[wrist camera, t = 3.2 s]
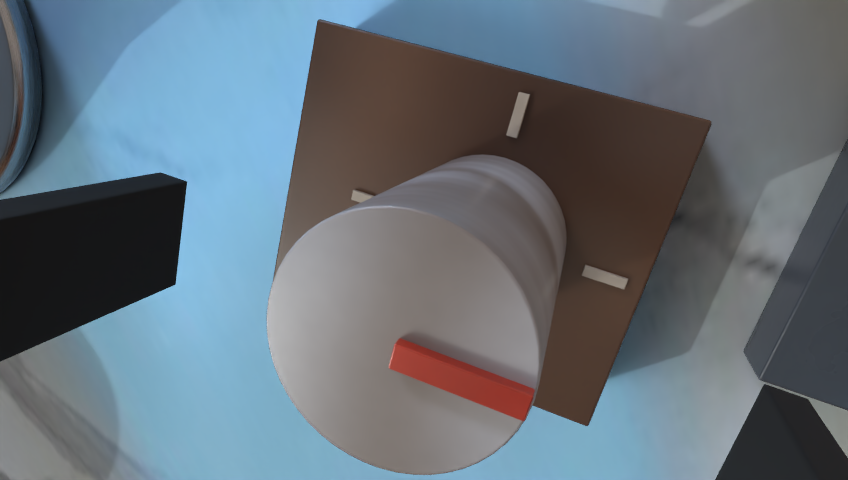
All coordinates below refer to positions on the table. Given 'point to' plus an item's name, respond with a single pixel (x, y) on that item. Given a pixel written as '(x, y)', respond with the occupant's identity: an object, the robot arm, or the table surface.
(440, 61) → the control panel
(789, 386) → the button box
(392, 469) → the knob
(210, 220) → the table surface
